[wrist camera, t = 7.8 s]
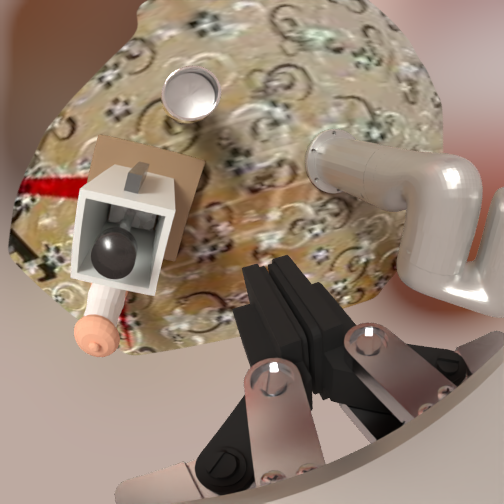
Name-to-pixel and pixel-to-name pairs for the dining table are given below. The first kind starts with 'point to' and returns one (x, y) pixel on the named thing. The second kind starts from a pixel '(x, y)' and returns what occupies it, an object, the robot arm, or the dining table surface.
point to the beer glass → (190, 94)
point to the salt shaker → (100, 321)
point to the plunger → (120, 242)
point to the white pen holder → (134, 207)
